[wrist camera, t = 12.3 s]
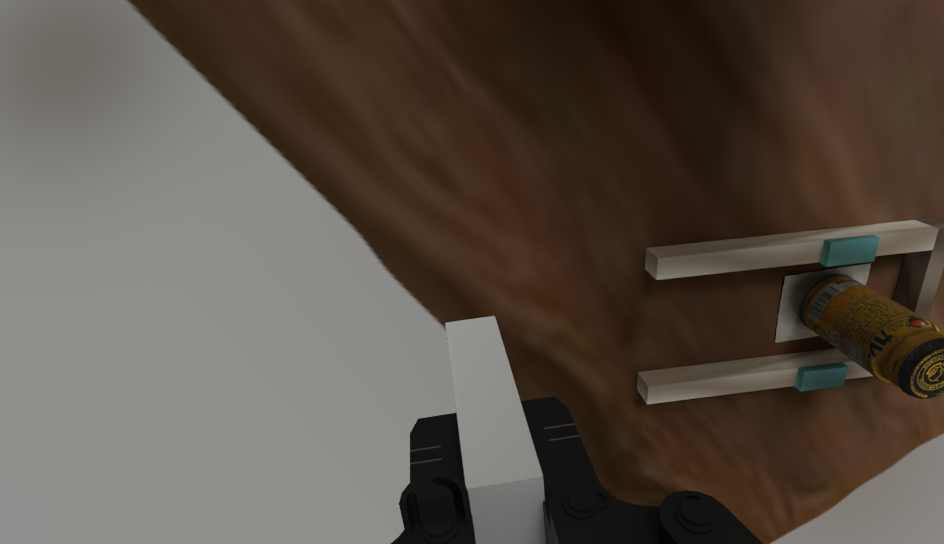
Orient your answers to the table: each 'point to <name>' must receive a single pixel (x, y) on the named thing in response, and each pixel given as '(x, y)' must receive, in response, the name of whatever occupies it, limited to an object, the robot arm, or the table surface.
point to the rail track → (811, 370)
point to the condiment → (864, 328)
